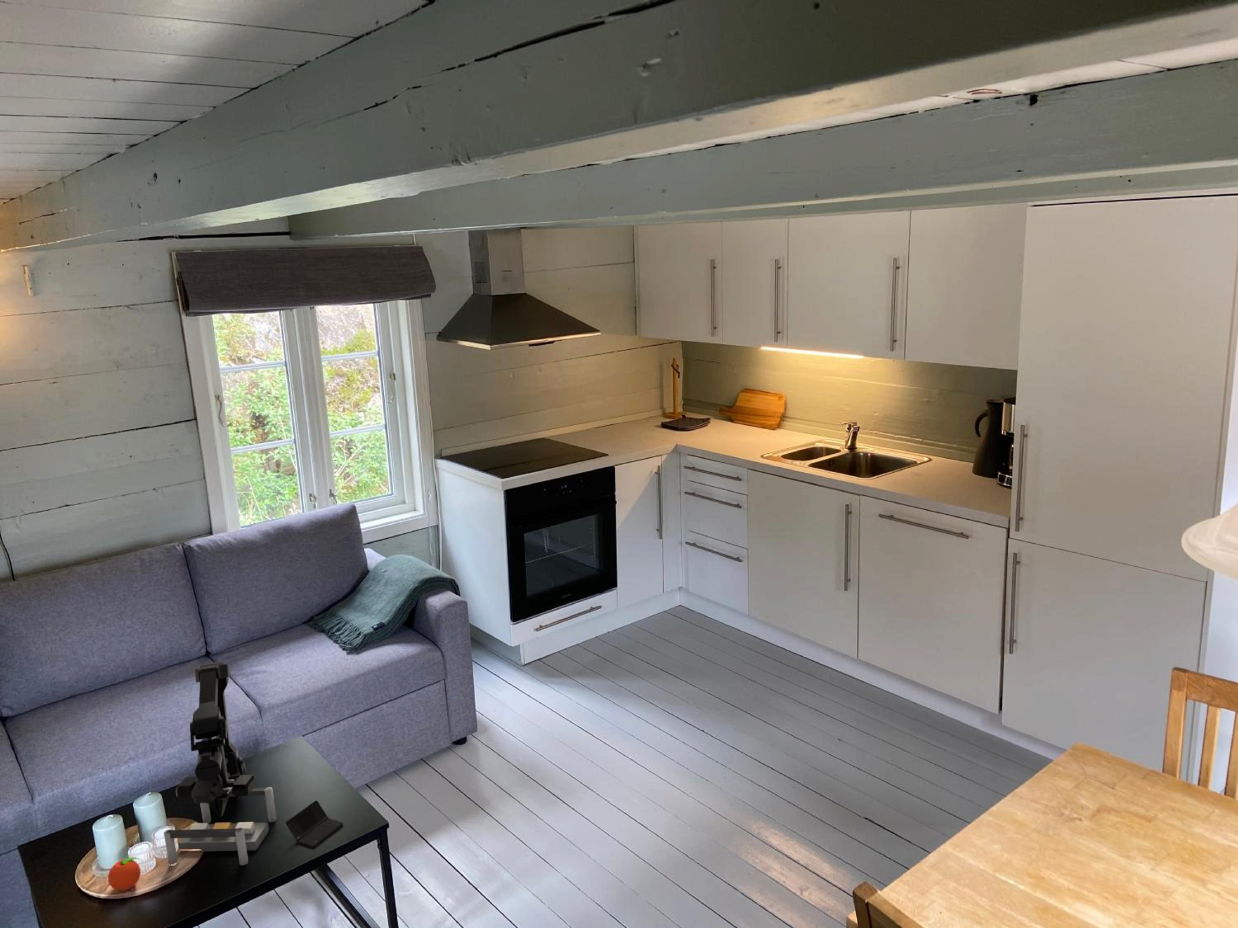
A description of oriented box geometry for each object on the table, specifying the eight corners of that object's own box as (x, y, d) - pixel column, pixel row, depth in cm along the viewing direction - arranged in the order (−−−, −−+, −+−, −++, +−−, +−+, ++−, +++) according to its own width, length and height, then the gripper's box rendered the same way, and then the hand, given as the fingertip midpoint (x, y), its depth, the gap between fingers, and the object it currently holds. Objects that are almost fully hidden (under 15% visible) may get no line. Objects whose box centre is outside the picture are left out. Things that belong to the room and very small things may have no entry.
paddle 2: (240, 828, 237) (238, 822, 236) (255, 828, 237) (253, 821, 236) (237, 834, 236) (235, 828, 234) (252, 834, 235) (250, 828, 234)
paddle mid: (217, 829, 238) (215, 822, 236) (232, 828, 237) (230, 822, 236) (214, 835, 236) (212, 828, 235) (229, 835, 236) (227, 828, 234)
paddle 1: (195, 829, 238) (192, 823, 237) (210, 829, 238) (207, 822, 236) (191, 835, 236) (189, 829, 235) (207, 835, 236) (204, 829, 235)
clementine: (137, 871, 226) (133, 846, 225) (152, 881, 222) (147, 855, 221) (104, 890, 220) (100, 864, 218) (119, 900, 216) (114, 874, 214)
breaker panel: (194, 832, 241) (193, 824, 241) (268, 830, 241) (267, 822, 240) (179, 851, 233) (178, 842, 233) (256, 849, 233) (255, 841, 232)
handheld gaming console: (320, 844, 232) (299, 810, 233) (302, 857, 234) (281, 824, 235) (347, 823, 242) (327, 791, 244) (329, 836, 245) (309, 804, 246)
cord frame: (205, 819, 247) (200, 788, 245) (277, 817, 246) (273, 786, 244) (167, 866, 228) (162, 833, 226) (246, 864, 227) (241, 832, 225)
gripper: (160, 779, 225) (169, 835, 228) (234, 777, 224) (243, 833, 227) (182, 755, 235) (191, 809, 239) (253, 753, 235) (261, 807, 238)
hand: (221, 815), depth 235 cm, fingers closed
